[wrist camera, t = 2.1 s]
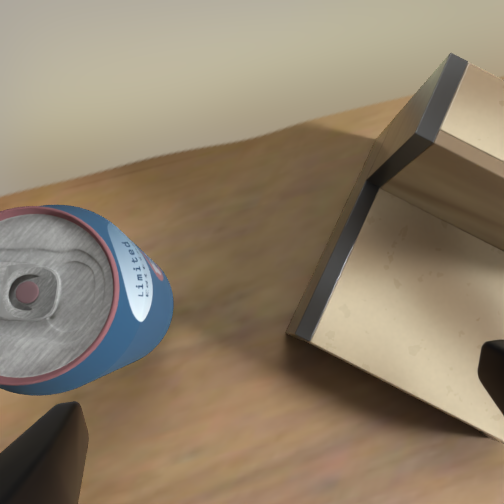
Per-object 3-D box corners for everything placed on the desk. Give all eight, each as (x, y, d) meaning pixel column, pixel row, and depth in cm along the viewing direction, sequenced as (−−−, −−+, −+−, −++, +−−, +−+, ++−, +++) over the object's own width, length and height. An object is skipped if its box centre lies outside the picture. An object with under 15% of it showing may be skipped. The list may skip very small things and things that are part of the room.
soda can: (181, 257, 25) (148, 198, 13) (169, 367, 23) (120, 413, 12) (72, 248, 24) (-66, 177, 12) (53, 360, 23) (-121, 400, 11)
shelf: (492, 438, 24) (649, 505, 15) (285, 332, 24) (323, 338, 16) (559, 232, 27) (721, 189, 19) (376, 138, 27) (450, 52, 19)
